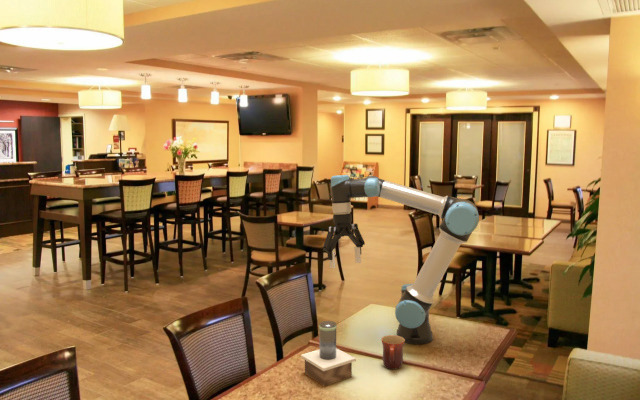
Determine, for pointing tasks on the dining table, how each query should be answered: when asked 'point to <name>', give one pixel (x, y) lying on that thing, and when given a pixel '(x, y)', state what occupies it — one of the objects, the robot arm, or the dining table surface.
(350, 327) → the dining table surface
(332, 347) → the grey can
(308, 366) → the pedestal
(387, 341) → the mug
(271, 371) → the dining table surface
